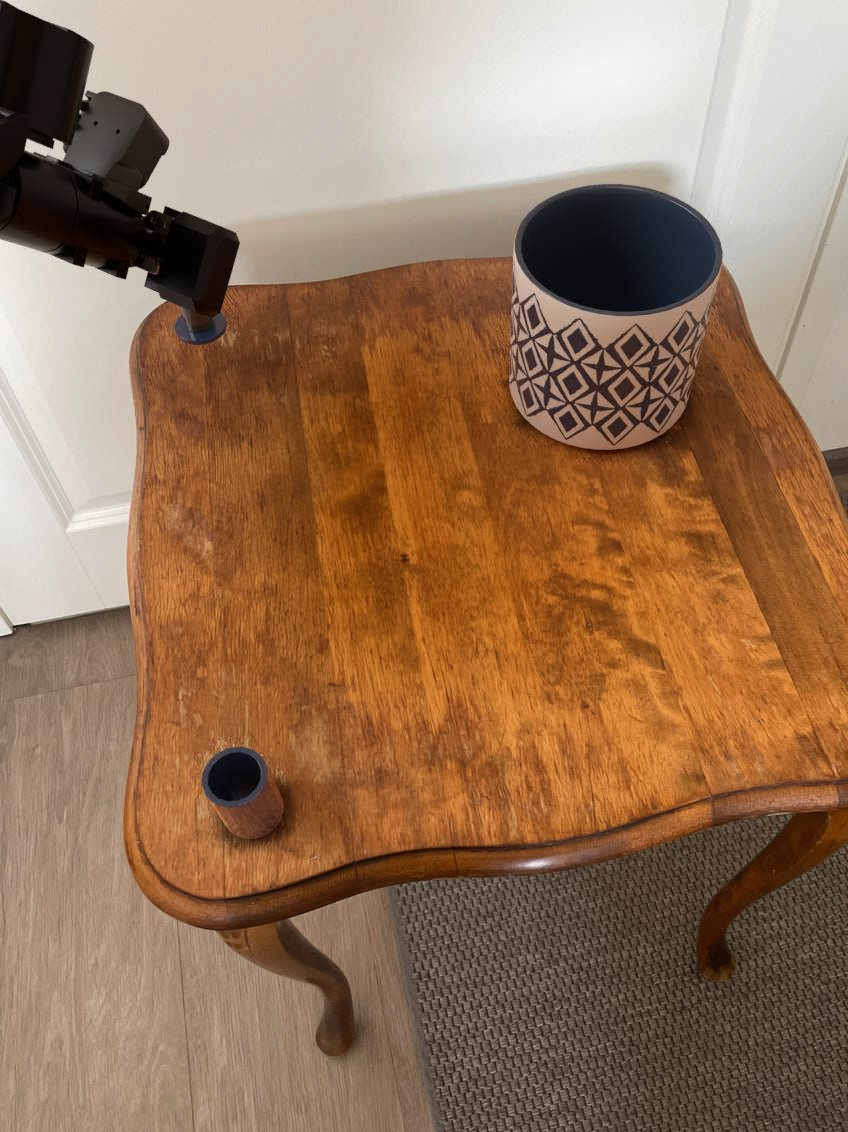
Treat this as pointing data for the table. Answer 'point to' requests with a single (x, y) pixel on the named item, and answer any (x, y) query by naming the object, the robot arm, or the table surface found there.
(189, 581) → the table surface
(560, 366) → the planter
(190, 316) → the rod with blue collar
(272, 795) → the tin
